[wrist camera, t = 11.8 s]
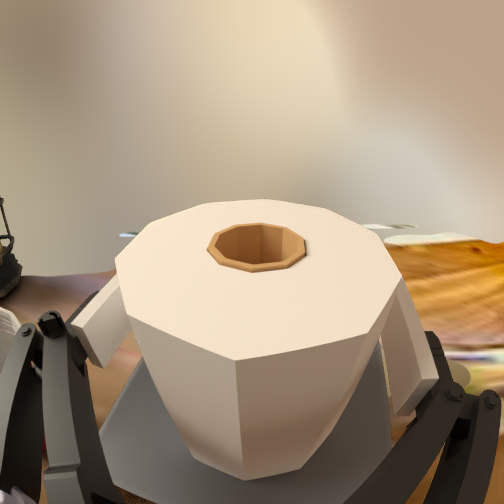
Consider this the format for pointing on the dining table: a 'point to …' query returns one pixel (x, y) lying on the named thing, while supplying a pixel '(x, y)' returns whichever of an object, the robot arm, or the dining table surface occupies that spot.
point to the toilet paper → (256, 325)
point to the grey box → (227, 486)
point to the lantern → (8, 262)
